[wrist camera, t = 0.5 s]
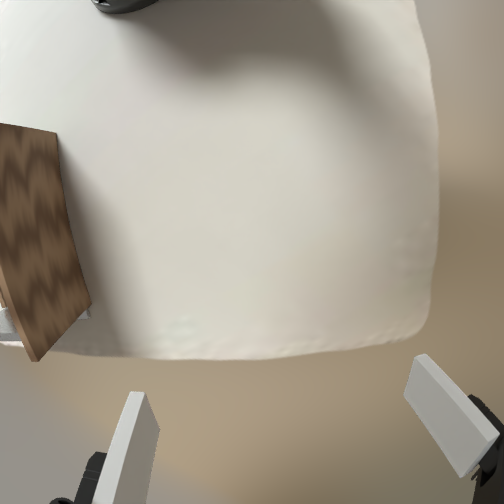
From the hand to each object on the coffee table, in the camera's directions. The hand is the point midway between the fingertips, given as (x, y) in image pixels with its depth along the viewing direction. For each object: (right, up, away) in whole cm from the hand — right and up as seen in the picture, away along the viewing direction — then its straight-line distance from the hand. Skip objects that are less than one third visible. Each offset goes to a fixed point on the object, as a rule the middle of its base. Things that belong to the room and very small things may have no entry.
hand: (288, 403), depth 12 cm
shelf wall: (-38, +10, +22) cm, 45 cm away
